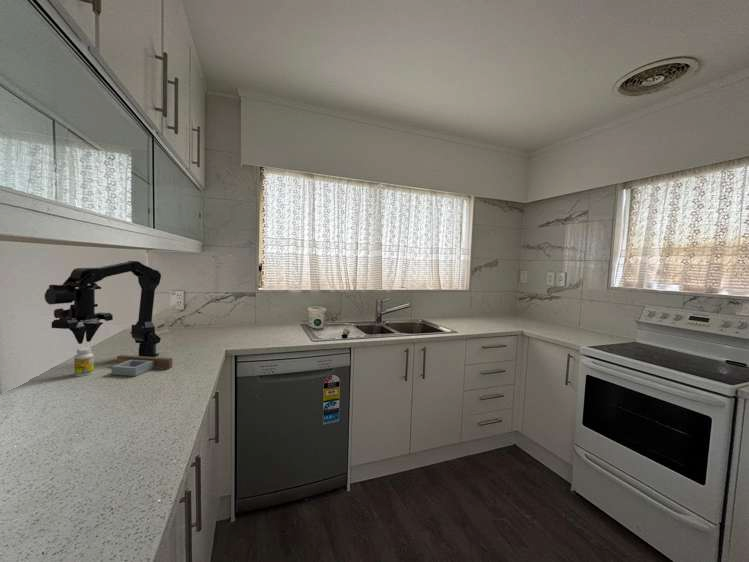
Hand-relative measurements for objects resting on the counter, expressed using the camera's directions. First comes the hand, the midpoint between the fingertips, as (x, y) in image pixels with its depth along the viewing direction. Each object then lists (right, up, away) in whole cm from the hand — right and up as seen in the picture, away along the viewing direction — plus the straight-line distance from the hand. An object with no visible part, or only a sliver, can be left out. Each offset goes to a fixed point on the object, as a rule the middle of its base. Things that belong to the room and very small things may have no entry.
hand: (84, 342), depth 118 cm
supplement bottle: (-1, -12, +1) cm, 12 cm away
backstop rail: (+15, -12, +11) cm, 22 cm away
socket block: (+14, -13, +5) cm, 20 cm away
